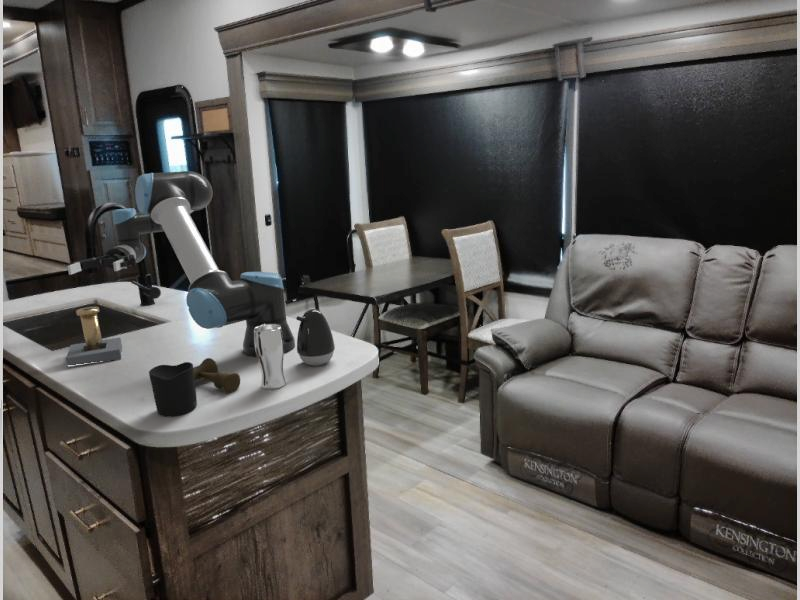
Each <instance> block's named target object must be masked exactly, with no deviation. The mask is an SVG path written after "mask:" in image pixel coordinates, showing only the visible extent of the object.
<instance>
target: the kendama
mask: <svg viewBox="0 0 800 600" xmlns="http://www.w3.org/2000/svg"><path fill="white" fill-rule="evenodd" d="M193 369H194V379H195V382H196V381H199V380H200V379H206V380H207V381H210V382H211V383H212V384H213V385H214V387H215V388H217V389H224V391H225V392H226V393H229V394H231V393H234V392H235V391H237V390H238V389H239V388H240V385H241V377H240V374H239V373H238V372H230V373H228V372H227V371H225V370H221V371H219V367H218V364H217V362H216V361H215V360H214V359H213V358H211V357H207V358H205V359H203V360H202V361H201V363H200V364H199V365H197V366H193Z"/></svg>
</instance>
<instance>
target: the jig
mask: <svg viewBox="0 0 800 600" xmlns="http://www.w3.org/2000/svg"><path fill="white" fill-rule="evenodd" d="M102 344H103V349H98V350H91V351H87V348H86V343H85V342H82V343H75V344H70V346H69V349H68V351H67V354H66V357H65V360H66V366H67V365H76V364H84V363H91V362H100V361H107V362H110V361H109V360H113V361H116V359H119V360H122V355H121V352H123V343H122V337H120V336H119V337H112V338H107V339H102Z"/></svg>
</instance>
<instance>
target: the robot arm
mask: <svg viewBox="0 0 800 600" xmlns="http://www.w3.org/2000/svg"><path fill="white" fill-rule="evenodd" d="M134 192H135V202H136V206H137V207H136V208H137V209H138V212H137V210H136V209H135V208H133V207H132V208H131V207H130V208H120V209H115V210H113V211H112V219H113V226H114V230H115V231H114V232H115V236H116V243H117V246H114V247H112V248H109V249H108V250H107V251H106V252H105V254H104V255H103V256H96V257H95V256H94V257H92V258H91V257H90V258H85V259H82V260H78V261H77V260H76V261H71V262H70V263H69V265H67V266H66V267H67V271H68V276H69V275H74V274H76V273H79V274H80V272H82V271H83V270H86V269H87V270H88V269H95V268H97V269H102V268H110V269H111V270H113V271H114V272H118V271H121V270H123V269H124V270H125V269H128V268H129V267H130V266H131V267H136V266H137V264H138V263H140V262H141V261H142V260H143V259H144V258H145V257H146V255H147V248H146V246H145V245H144V243H142V242H141V235H145V234H152V233H160V232H161V233H162V232H164V233H165V235H166V238H167V239H168V241H169V244H171V248H172V249H173V251H174V254H175V255H176V258H177V259H178V261H179V263H180V265H181V268H182V269H183V271H184V273H185V275H186V276H187V278H188V280H189V281H188V282H189V283H190V284H189V286H188V289H187V290H188V292H187V294H186V300H185V301H186V305H187V307H188V308H187V309H188V310H187V311H188V312H189V314H190V316H191V318H192V319H193V321H194V322H195V323H196V325H198V326H199V327H200V328H203V329H206V330H210V329H217V328H223V327H225V326H229V325H233V324H236V323H240V322H244V321H245V322H246V323H245V324H246V326H245V327H246V328H245V333H244V338H243V342H242V349H243V353H244V354H245V355H246V356H247V355H248V356H253V357H257V355H256V351H255V343H254V328H255V327H257V326H260V325H265V324H278V325H280V326H281V330H282V335H283V342H284V354H285V353H288V352H289V351H292V350H293V349H294V348H295V347H296V342H295V341H296V340H295V337H294V334H293V333H292V332H293V331H292V330H291V328H290V326H289V324H288V320H287V313H286V304H285V303H286V301H285V291H284V289H285V288H284V287H285V286H284V285H283V284H284V283H283V279H282V276H281V275H280V274H278V273H276V272H269V271H246V272H243V273H242V272H241V274H240V276H239V278H240V279H237V280H232V279H231V278H230V276H229V274H228V273H227V271H224V270H220V269H219V267H218V266H217V263H216V262H215V260H214V259H215V258H214V257H213V256H212V254H211V252H210V250H209V248H208V246H207V244H206V242H205V241H204V239H203V237H202V235H201V233H200V232H199V230H198V227H197V225H196V223H195V222H194V220H193V218H192V216H191V214H192V213H193V212H195V211H200V210H203V209H204V208H206V207H207V206H209V204H210V203H211V202H212V198H213V194H214V193H213V187H212V185H211V182H209V180H208V179H207V178H206V176H203V175H202V174H201V173H198V172H195V171H190V170H183V171H169V172H150V173H143V174H141V175H139V176H138V177H137V178H136V182H135V191H134Z"/></svg>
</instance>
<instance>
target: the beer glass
mask: <svg viewBox="0 0 800 600" xmlns="http://www.w3.org/2000/svg"><path fill="white" fill-rule="evenodd" d="M254 343H255V351H256V355H257V356H256V359H257V360H258V364H259V368H260V373H261V386H260V387H261V388H262V389H264V390H277V389H281V388H284V386H286V385H287V380H286V377H285V373H284V357H285V355H284V354H285V353H284V342H283V335H282V330H281V326H280V325H278V324H265V325H260V326H257V327H255V328H254Z"/></svg>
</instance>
